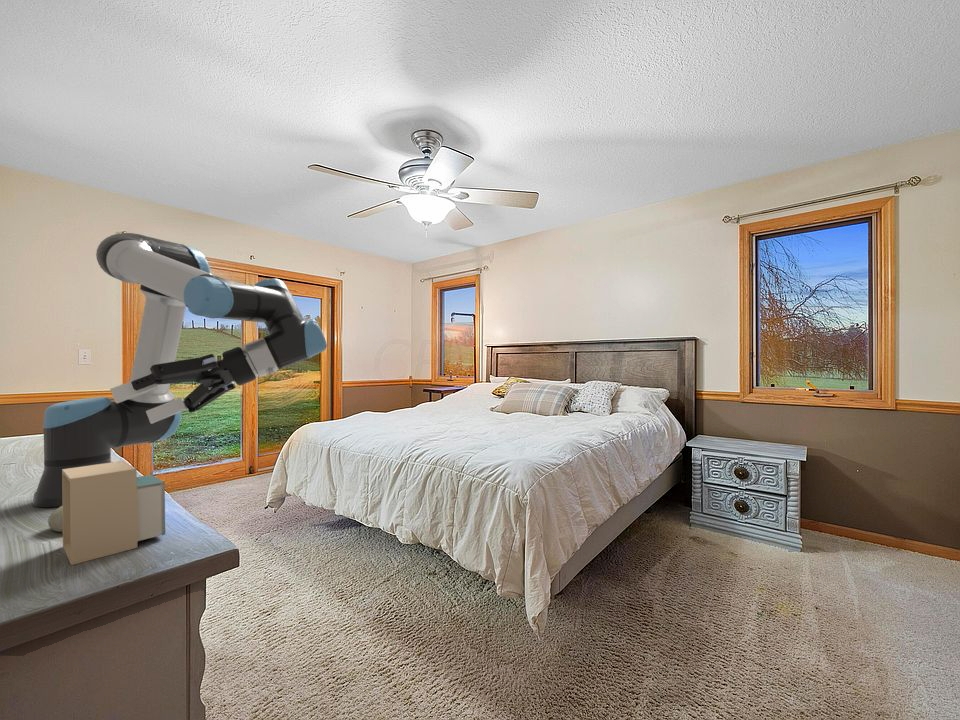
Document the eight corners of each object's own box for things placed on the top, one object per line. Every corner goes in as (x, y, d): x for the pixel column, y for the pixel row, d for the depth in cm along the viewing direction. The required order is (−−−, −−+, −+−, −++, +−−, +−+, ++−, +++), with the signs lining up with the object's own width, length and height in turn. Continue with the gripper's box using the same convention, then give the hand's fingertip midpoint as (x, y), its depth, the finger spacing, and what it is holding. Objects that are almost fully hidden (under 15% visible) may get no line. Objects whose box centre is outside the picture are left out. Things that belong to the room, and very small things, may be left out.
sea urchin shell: (51, 529, 76) (47, 492, 80) (48, 553, 80) (45, 516, 83) (118, 514, 83) (111, 481, 87) (113, 537, 86) (107, 504, 90)
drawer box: (151, 522, 81) (151, 474, 81) (165, 534, 75) (164, 482, 75) (79, 539, 74) (79, 486, 74) (88, 553, 67) (87, 496, 68)
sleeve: (123, 532, 79) (122, 460, 79) (137, 547, 71) (136, 468, 72) (62, 546, 73) (62, 469, 73) (71, 565, 65) (70, 478, 66)
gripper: (241, 352, 77) (102, 404, 69) (269, 396, 100) (166, 439, 91) (225, 318, 79) (88, 365, 71) (256, 369, 101) (154, 409, 93)
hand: (132, 407), depth 81 cm, fingers open, 13 cm apart
